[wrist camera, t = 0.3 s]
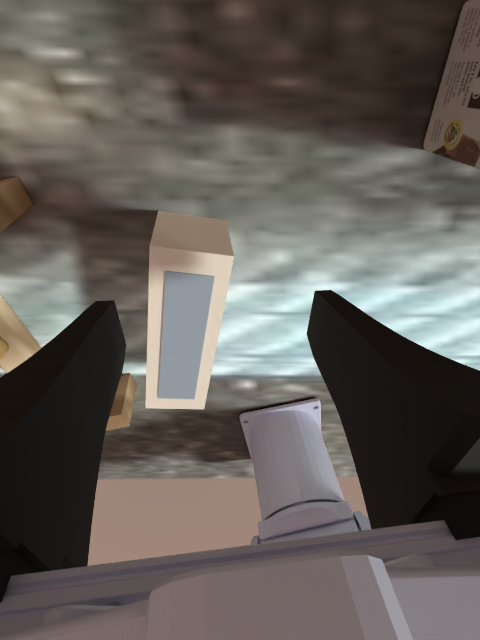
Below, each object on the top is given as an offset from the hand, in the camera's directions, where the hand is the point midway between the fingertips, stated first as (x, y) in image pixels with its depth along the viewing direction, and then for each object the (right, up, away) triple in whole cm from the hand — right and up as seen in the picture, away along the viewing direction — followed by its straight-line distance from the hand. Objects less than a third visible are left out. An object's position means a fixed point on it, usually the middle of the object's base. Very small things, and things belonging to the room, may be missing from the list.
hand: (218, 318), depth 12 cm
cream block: (-3, +2, +11) cm, 11 cm away
